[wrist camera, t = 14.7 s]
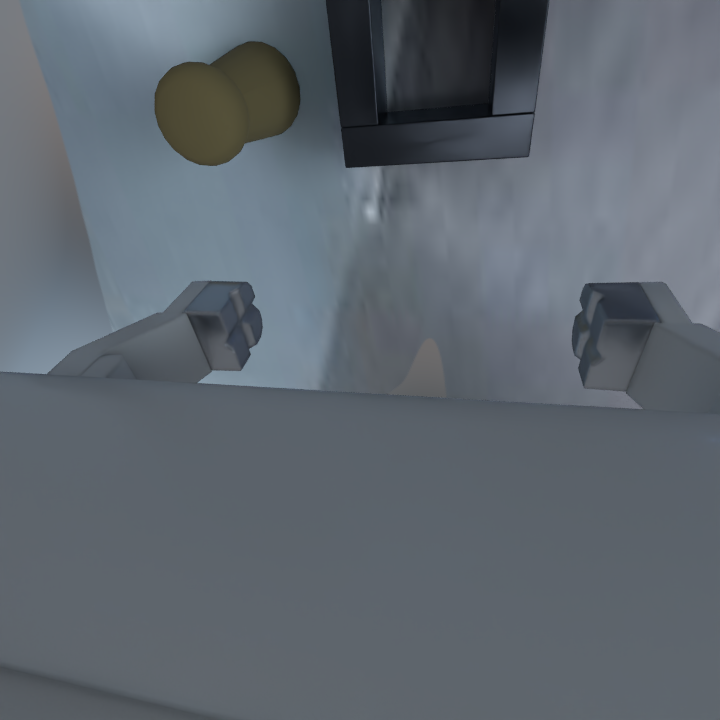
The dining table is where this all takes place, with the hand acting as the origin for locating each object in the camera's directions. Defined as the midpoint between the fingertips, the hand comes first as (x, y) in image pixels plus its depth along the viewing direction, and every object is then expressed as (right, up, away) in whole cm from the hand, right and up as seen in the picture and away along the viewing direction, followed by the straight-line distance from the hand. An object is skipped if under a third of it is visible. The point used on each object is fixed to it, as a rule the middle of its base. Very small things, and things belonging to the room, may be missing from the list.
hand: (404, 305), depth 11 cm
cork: (-8, +19, +21) cm, 29 cm away
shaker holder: (+4, +19, +17) cm, 26 cm away
